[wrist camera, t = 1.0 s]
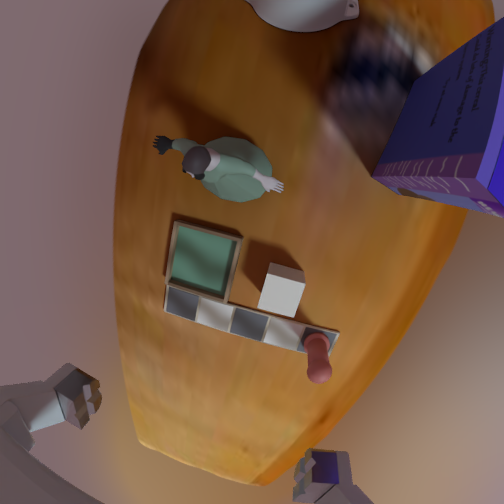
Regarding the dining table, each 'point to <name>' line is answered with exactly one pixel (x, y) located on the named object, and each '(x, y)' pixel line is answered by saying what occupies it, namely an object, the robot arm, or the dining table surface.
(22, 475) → the robot arm
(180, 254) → the dice tray
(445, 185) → the cereal box
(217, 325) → the track board
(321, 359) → the pawn
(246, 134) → the dining table surface
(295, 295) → the die
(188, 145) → the character figurine
